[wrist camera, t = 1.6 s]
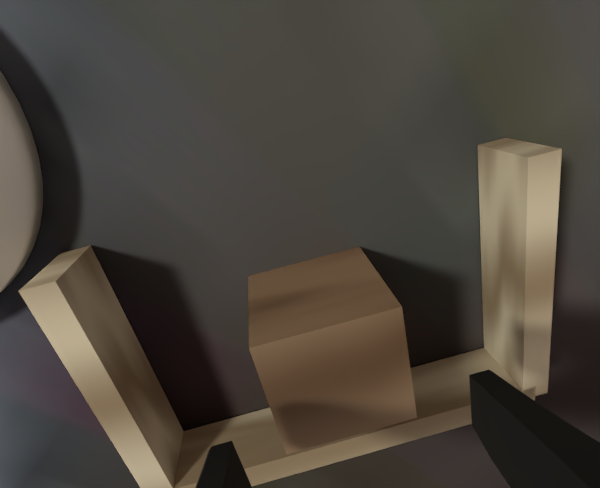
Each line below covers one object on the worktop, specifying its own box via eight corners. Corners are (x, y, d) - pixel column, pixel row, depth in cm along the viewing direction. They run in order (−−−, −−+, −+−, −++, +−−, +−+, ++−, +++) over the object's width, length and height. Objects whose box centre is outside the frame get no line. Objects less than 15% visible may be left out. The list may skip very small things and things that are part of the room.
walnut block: (375, 335, 19) (417, 417, 14) (276, 362, 18) (286, 454, 14) (358, 245, 17) (401, 306, 12) (248, 275, 16) (248, 348, 12)
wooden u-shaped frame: (506, 359, 20) (546, 402, 17) (168, 453, 20) (156, 513, 17) (505, 137, 15) (562, 148, 13) (60, 253, 15) (18, 290, 12)
